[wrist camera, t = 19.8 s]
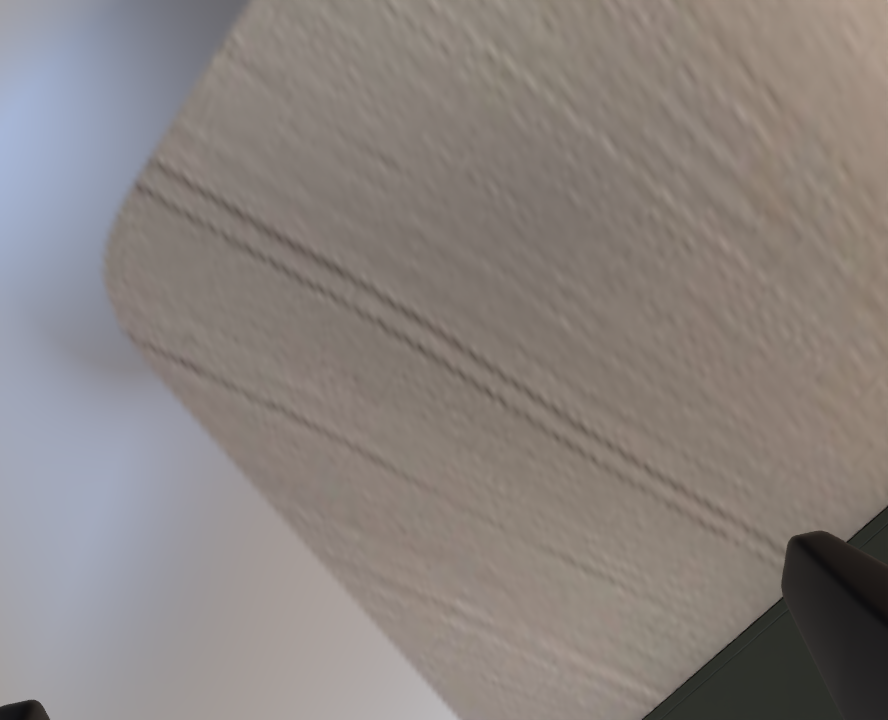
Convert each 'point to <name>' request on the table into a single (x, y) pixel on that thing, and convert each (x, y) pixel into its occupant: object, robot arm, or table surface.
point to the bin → (766, 666)
